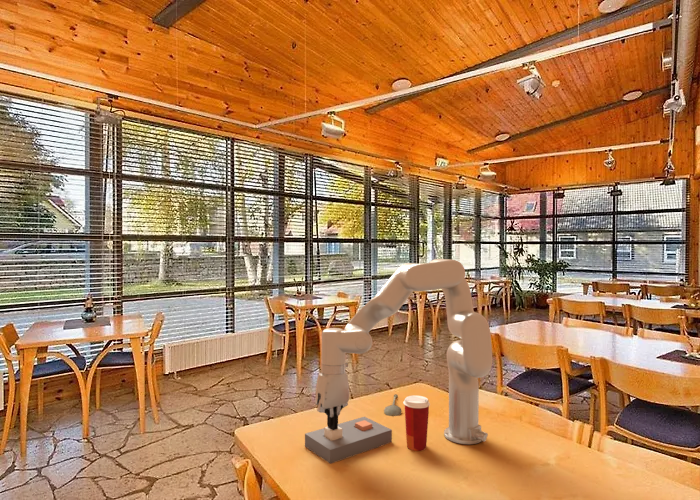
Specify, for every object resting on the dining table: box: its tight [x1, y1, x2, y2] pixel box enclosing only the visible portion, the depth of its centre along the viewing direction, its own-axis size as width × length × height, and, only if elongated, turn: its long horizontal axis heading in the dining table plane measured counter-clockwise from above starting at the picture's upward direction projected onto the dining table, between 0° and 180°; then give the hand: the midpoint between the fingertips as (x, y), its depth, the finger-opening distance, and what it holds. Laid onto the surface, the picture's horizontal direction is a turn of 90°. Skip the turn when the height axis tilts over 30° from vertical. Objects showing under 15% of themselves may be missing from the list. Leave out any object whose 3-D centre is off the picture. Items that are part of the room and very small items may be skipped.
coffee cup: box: [402, 395, 431, 452], centre depth 138 cm, size 8×8×15 cm
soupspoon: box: [383, 393, 402, 417], centre depth 174 cm, size 22×3×7 cm
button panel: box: [304, 416, 393, 464], centre depth 139 cm, size 14×24×4 cm, turn 127°
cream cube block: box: [323, 426, 342, 441], centre depth 136 cm, size 4×4×4 cm
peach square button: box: [355, 420, 372, 431], centre depth 143 cm, size 4×4×4 cm
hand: (332, 428), depth 136 cm, fingers closed
